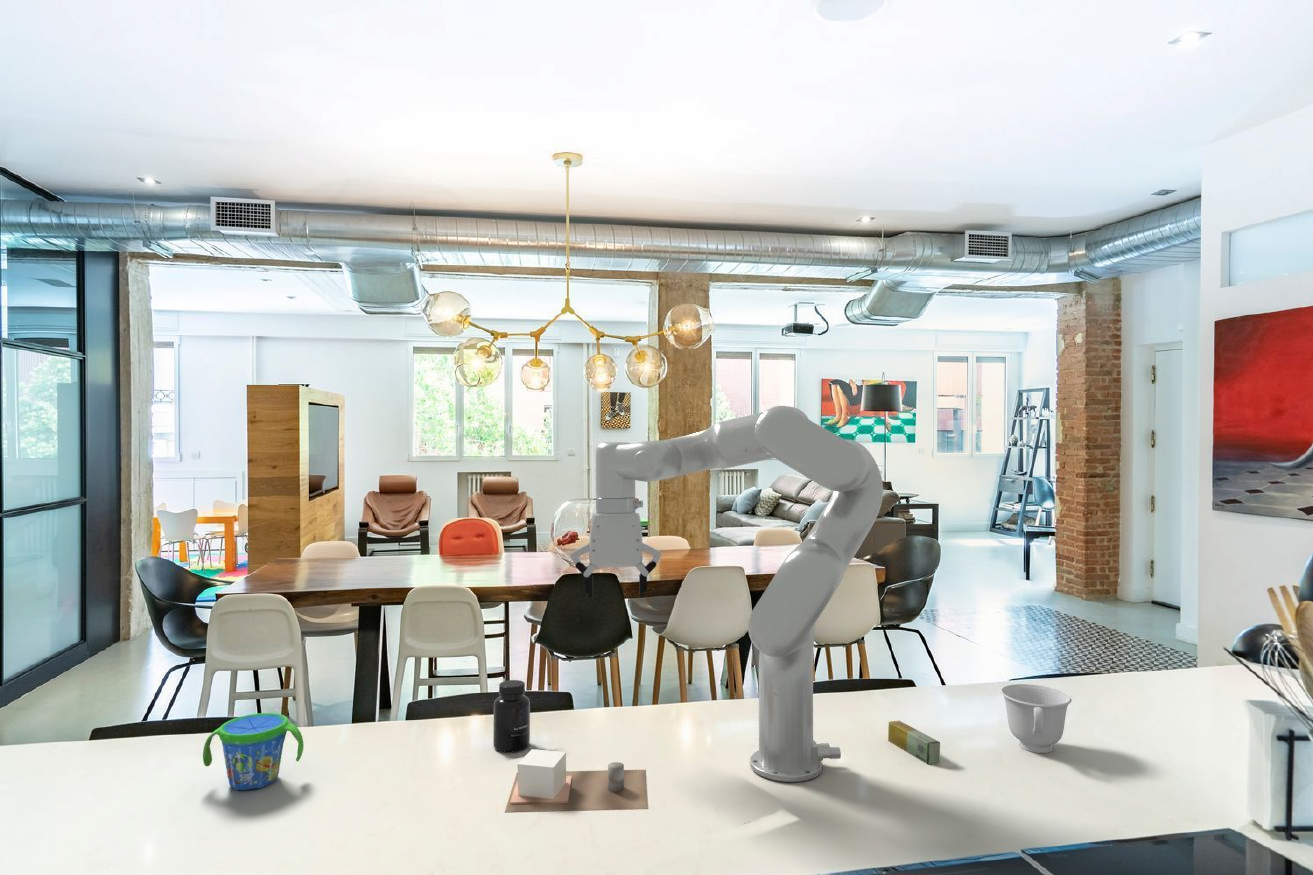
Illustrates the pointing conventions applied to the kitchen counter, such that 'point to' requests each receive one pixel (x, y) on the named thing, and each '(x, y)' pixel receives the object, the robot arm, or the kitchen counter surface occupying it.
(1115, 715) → the kitchen counter surface
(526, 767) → the matte white cube
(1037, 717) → the teacup
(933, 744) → the medication box
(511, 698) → the supplement bottle
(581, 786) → the post board
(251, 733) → the snack cup
